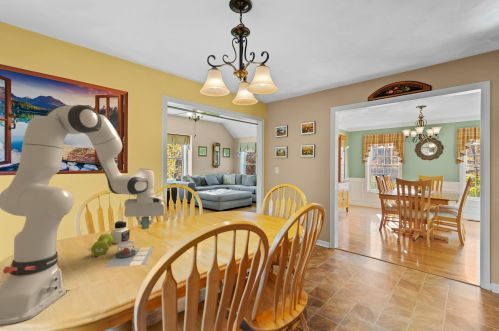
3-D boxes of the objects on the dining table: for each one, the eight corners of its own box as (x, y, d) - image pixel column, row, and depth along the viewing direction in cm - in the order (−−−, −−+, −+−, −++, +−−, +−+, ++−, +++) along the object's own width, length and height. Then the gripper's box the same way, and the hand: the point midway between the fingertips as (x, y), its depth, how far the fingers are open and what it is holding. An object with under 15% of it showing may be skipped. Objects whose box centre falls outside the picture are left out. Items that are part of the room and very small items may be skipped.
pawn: (147, 228, 126) (147, 217, 126) (140, 229, 126) (140, 217, 125) (150, 227, 130) (150, 216, 130) (142, 227, 129) (142, 216, 129)
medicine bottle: (121, 244, 136) (121, 223, 136) (110, 243, 138) (110, 222, 137) (129, 240, 144) (130, 220, 143) (119, 239, 145) (119, 219, 144)
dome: (131, 252, 116) (131, 245, 116) (115, 253, 115) (115, 246, 115) (135, 247, 123) (135, 240, 123) (120, 247, 122) (120, 241, 122)
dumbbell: (107, 256, 120) (108, 242, 119) (89, 258, 117) (89, 243, 117) (114, 245, 135) (114, 232, 135) (98, 246, 132) (98, 233, 132)
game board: (145, 266, 109) (145, 257, 108) (104, 269, 105) (104, 260, 105) (154, 248, 131) (154, 241, 131) (120, 250, 127) (120, 242, 127)
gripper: (122, 199, 122) (122, 226, 122) (164, 199, 126) (164, 225, 127) (126, 198, 128) (126, 223, 128) (166, 197, 132) (165, 222, 133)
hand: (145, 224), depth 128 cm, fingers closed on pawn, 4 cm apart
